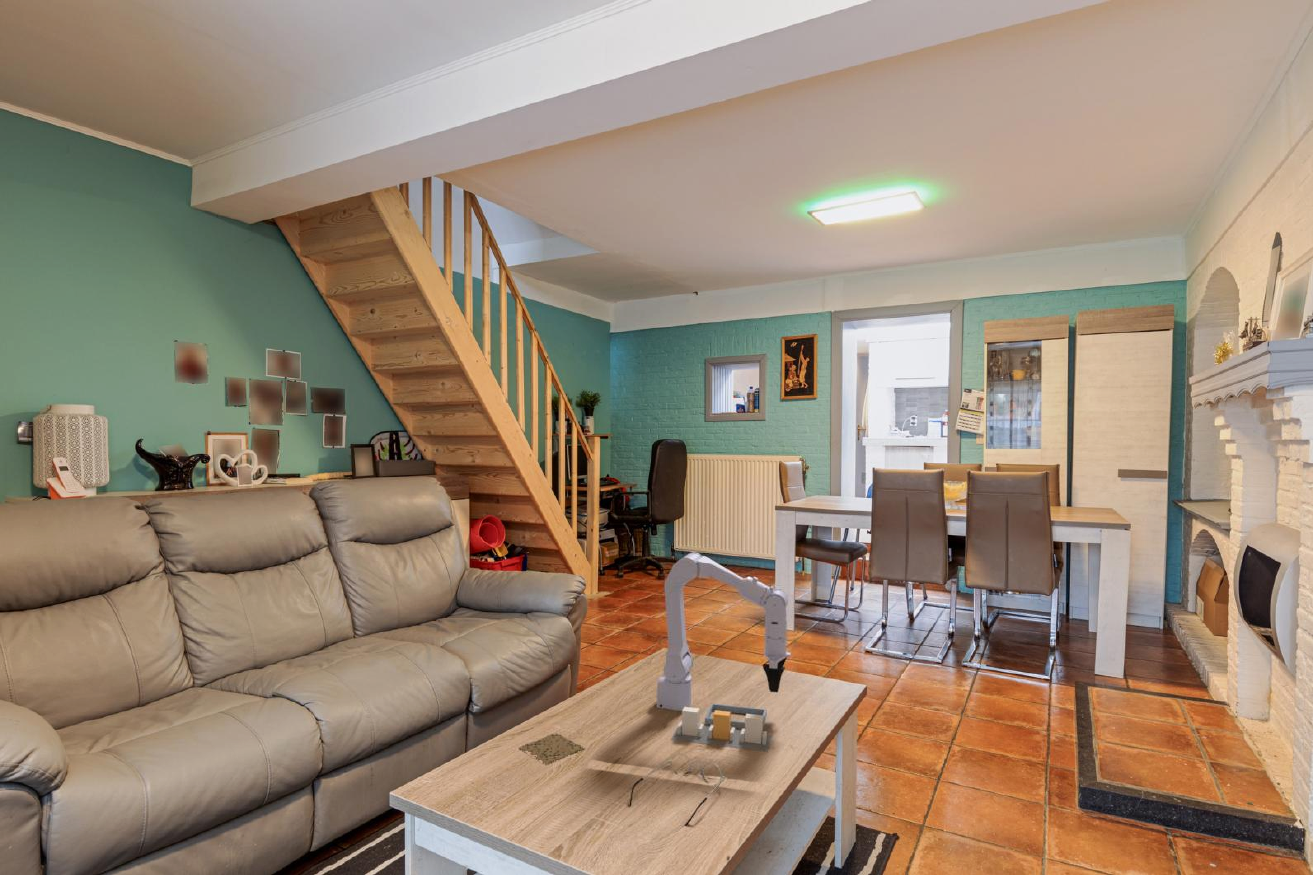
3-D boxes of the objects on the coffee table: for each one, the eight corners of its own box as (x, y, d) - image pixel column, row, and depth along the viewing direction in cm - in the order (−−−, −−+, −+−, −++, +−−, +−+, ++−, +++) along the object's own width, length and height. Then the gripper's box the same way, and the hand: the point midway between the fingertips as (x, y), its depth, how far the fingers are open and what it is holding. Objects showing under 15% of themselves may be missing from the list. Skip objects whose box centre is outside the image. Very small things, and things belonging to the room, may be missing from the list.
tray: (704, 729, 182) (704, 717, 182) (711, 713, 192) (711, 703, 192) (762, 736, 178) (762, 724, 178) (766, 720, 188) (766, 709, 188)
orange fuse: (713, 737, 173) (713, 714, 173) (714, 733, 176) (715, 710, 176) (728, 739, 172) (729, 715, 172) (730, 735, 175) (730, 711, 175)
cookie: (516, 750, 170) (517, 746, 170) (556, 735, 179) (556, 731, 179) (545, 767, 162) (545, 763, 162) (586, 750, 170) (586, 746, 170)
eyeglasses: (730, 788, 153) (730, 765, 153) (691, 830, 137) (691, 805, 137) (667, 769, 161) (667, 748, 161) (623, 807, 145) (623, 783, 145)
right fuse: (745, 741, 171) (745, 717, 171) (746, 737, 174) (746, 713, 174) (761, 743, 170) (761, 719, 170) (762, 739, 173) (762, 715, 173)
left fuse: (682, 734, 175) (682, 710, 175) (684, 729, 178) (684, 706, 178) (697, 735, 174) (697, 712, 174) (699, 731, 177) (699, 708, 177)
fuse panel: (670, 745, 172) (671, 731, 172) (679, 728, 182) (679, 715, 182) (767, 757, 166) (768, 743, 166) (771, 739, 176) (771, 725, 176)
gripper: (789, 645, 178) (788, 697, 178) (792, 629, 192) (791, 678, 192) (761, 643, 179) (760, 695, 180) (766, 627, 193) (766, 675, 194)
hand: (775, 686), depth 186 cm, fingers open, 7 cm apart
